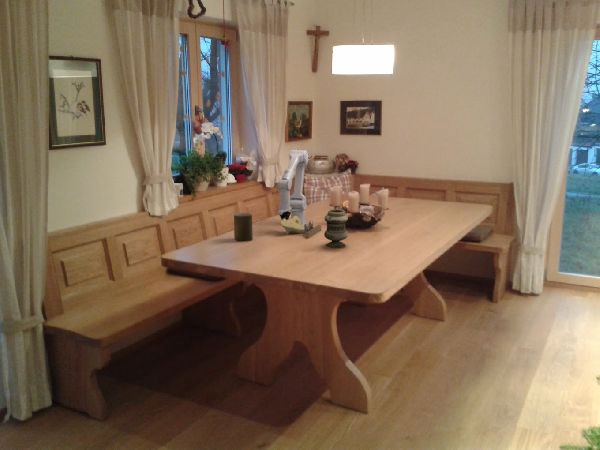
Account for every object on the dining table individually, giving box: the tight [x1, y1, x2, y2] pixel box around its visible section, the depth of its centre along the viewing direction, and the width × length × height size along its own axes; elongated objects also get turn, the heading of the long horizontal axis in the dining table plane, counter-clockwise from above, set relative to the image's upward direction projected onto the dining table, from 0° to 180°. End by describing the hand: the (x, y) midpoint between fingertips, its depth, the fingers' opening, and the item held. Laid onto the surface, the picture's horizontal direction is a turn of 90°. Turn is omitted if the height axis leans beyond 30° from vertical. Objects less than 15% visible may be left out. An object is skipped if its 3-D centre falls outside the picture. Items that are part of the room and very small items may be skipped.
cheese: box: [279, 216, 304, 235], centre depth 317 cm, size 15×7×15 cm
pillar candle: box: [233, 212, 254, 242], centre depth 302 cm, size 10×10×15 cm
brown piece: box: [303, 220, 322, 239], centre depth 314 cm, size 20×5×6 cm, turn 158°
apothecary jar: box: [323, 208, 349, 249], centre depth 288 cm, size 12×12×18 cm
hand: (285, 225), depth 320 cm, fingers closed
